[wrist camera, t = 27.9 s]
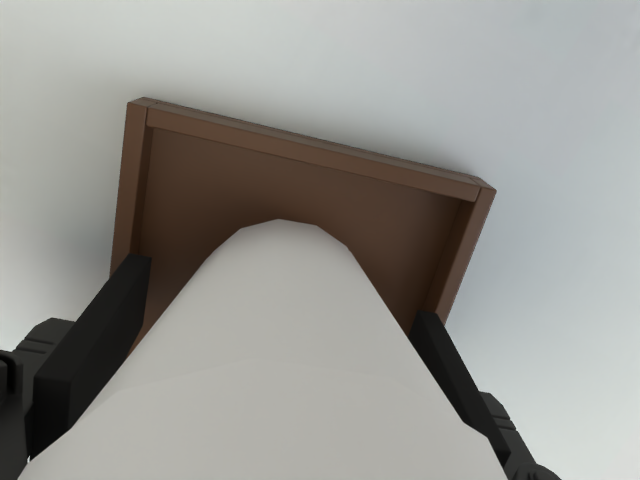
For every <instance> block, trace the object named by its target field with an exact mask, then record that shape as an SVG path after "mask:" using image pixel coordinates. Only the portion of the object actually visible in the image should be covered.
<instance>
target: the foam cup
mask: <svg viewBox="0 0 640 480" xmlns="http://www.w3.org/2000/svg"><path fill="white" fill-rule="evenodd" d="M17 480H508V479H507V477H506V475H505V473H504V471H503V469H502V467H501V465H500V463H499V461H498V459H497V457H496V455H495V453H494V451H493V449H492V446H491V444H490V442H489V440H488V438H487V437H485V436H484V435H482V434H481V433H479V432H477V431H476V430H474V429H473V428H471V427H469V426H468V425H466V424H465V423H463V422H462V420H461V419H460V417H459V416H458V414H457V412H456V411H455V409H454V408H453V406H452V405H451V403H450V402H449V400H448V399H447V397H446V396H445V394H444V393H443V391H442V390H441V388H440V387H439V385H438V384H437V382H436V381H435V379H434V378H433V376H432V375H431V373H430V371H429V370H428V368H427V367H426V365H425V364H424V362H423V361H422V359H421V358H420V356H419V355H418V353H417V352H416V350H415V349H414V347H413V346H412V344H411V343H410V341H409V340H408V338H407V337H406V335H405V334H404V332H403V330H402V329H401V327H400V326H399V324H398V323H397V321H396V320H395V318H394V317H393V315H392V314H391V312H390V311H389V309H388V308H387V306H386V305H385V303H384V302H383V300H382V299H381V297H380V296H379V294H378V293H377V291H376V289H375V288H374V286H373V285H372V283H371V282H370V280H369V279H368V277H367V276H366V274H365V273H364V271H363V270H362V268H361V267H360V265H359V264H358V262H357V261H356V259H355V258H354V256H353V255H352V253H351V252H350V251H349V250H348V248H347V246H345V245H344V244H342V243H341V242H339V241H338V240H337V239H335V238H334V237H332V236H331V235H329V234H328V233H327V232H325V231H324V230H322V229H321V228H319V227H318V226H316V225H311V224H305V223H299V222H293V221H288V220H282V219H276V220H272V221H268V222H264V223H260V224H256V225H252V226H248V227H245V228H241V229H239V230H238V231H237V232H236V233H235V234H233V235H232V236H231V237H230V238H229V239H227V240H226V241H225V242H224V243H223V244H221V245H220V246H219V247H218V248H217V249H216V250H214V251H213V252H212V254H211V255H210V256H209V257H208V258H207V259H206V260H205V261H204V263H203V264H202V265H201V266H200V268H199V269H198V270H197V271H196V273H195V274H194V275H193V276H192V278H191V279H190V280H189V281H188V283H187V284H186V285H185V286H184V288H183V289H182V290H181V291H180V293H179V294H178V295H177V296H176V298H175V299H174V300H173V301H172V303H171V304H170V305H169V307H168V308H167V309H166V310H165V312H164V313H163V314H162V315H161V317H160V318H159V319H158V320H157V322H156V323H155V324H154V325H153V327H152V328H151V329H150V330H149V332H148V333H147V334H146V335H145V337H144V338H143V339H142V340H141V342H140V343H139V344H138V345H137V347H136V348H135V349H134V350H133V352H132V353H131V354H130V355H129V357H128V358H127V359H126V360H125V362H124V363H123V364H122V365H121V367H120V368H119V369H118V371H117V372H116V373H115V374H114V376H113V377H112V378H111V379H110V381H109V382H108V383H107V384H106V386H105V387H104V388H103V389H102V391H101V392H100V393H99V394H98V396H97V397H96V398H95V399H94V401H93V402H92V403H91V404H90V406H89V407H88V408H87V409H86V411H85V412H84V413H83V414H82V416H81V417H80V418H79V419H78V421H77V422H76V423H75V424H74V426H73V427H72V428H71V429H70V430H69V431H68V432H66V433H65V434H64V435H63V436H61V437H60V438H59V439H58V440H56V441H55V442H54V443H53V444H51V445H50V446H49V447H48V448H46V449H45V450H44V451H43V452H41V453H40V454H39V455H38V456H36V457H35V458H34V459H33V460H31V461H30V462H29V463H28V464H27V465H26V466H25V468H24V470H23V471H22V473H21V474H20V476H19V478H18V479H17Z"/></svg>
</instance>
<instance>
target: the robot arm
mask: <svg viewBox="0 0 640 480" xmlns="http://www.w3.org/2000/svg"><path fill="white" fill-rule="evenodd" d="M151 262H152V257H147V256H142V255H137V254H132V253H129V254H128V255H127V256H126V258H125V259H124V260H123V261H122V263H121V264H120V265H119V267H118V268H117V269H116V270H115V272H114V273H113V274H112V276H111V277H110V278H109V279H108V281H107V282H106V283H105V285H104V286H103V287H102V288H101V290H100V291H99V292H98V294H97V295H96V296H95V298H94V299H93V300H92V301H91V303H90V304H89V305H88V307H87V308H86V309H85V310H84V312H83V313H82V314H81V316H80V317H79V318H78V319H77V321H76V322H74V321H68V320H62V319H57V318H50V319H48V320H46V321H44V322H42V323H40V324H38V325H36V326H35V327H34V328H33V329H32V330H31V331H30V332H29V333H28V334H27V336H26V337H25V339H24V340H22V341H21V342H20V343H19V344H18V346H17V347H16V349H14V350H13V351H12V352H8V351H4V350H0V480H17V479H18V478H19V476H20V474H21V473H22V471H23V470H24V468H25V466H26V465H27V464H28V463H27V459H28V457H29V456H30V461H31V460H33V459H34V458H35V457H36V456H38V455H39V454H40V453H41V452H43V451H44V450H45V449H46V448H48V447H49V446H50V445H51V444H53V443H54V442H55V441H56V440H58V439H59V438H60V437H61V436H63V435H64V434H65V433H66V432H68V431H69V430H70V429H71V428H72V427H73V426H74V424H75V423H76V422H77V421H78V419H79V418H80V417H81V416H82V414H83V413H84V412H85V411H86V409H87V408H88V407H89V406H90V404H91V403H92V402H93V401H94V399H95V398H96V397H97V396H98V394H99V393H100V392H101V391H102V389H103V388H104V387H105V386H106V384H107V383H108V382H109V381H110V379H111V378H112V377H113V376H114V374H115V373H116V372H117V371H118V369H119V368H120V367H121V365H122V364H123V363H124V361H125V359H126V357H127V355H128V353H129V351H130V349H131V347H132V345H133V344H134V342H135V340H136V338H137V336H138V334H139V332H140V330H141V328H142V326H143V321H144V313H145V306H146V299H147V291H148V284H149V276H150V269H151ZM408 340H409V341H410V343H411V344H412V346H413V347H414V349H415V350H416V352H417V353H418V355H419V356H420V358H421V359H422V361H423V362H424V364H425V365H426V367H427V368H428V370H429V371H430V373H431V375H432V376H433V378H434V379H435V381H436V382H437V384H438V385H439V387H440V388H441V390H442V391H443V393H444V394H445V396H446V397H447V399H448V400H449V402H450V403H451V405H452V406H453V408H454V409H455V411H456V412H457V414H458V416H459V417H460V419H461V420H462V422H463V423H465V424H466V425H468V426H469V427H471V428H473V429H474V430H476V431H477V432H479V433H481V434H482V435H484V436H485V437H487V438H488V440H489V442H490V444H491V446H492V449H493V451H494V453H495V455H496V457H497V459H498V461H499V463H500V465H501V467H502V469H503V471H504V473H505V475H506V477H507V479H508V480H561V479H560V478H559V477H558V476H557V475H556V474H555V473H554V472H552V471H550V470H549V469H547V468H545V467H544V466H541V465H538V464H536V462H535V460H534V458H533V457H532V455H531V453H530V452H529V450H528V448H527V446H526V445H525V443H524V441H523V440H522V438H521V436H520V434H519V433H518V431H516V427H515V426H514V424H513V422H512V421H510V417H509V415H508V414H507V412H506V410H505V409H504V407H503V405H502V404H501V403H500V402H499V401H498V400H497V399H496V398H495V397H494V396H492V395H491V394H490V393H486V392H480V391H479V390H478V389H477V387H476V385H475V383H474V381H473V379H472V377H471V375H470V374H469V372H468V370H467V368H466V366H465V364H464V362H463V361H462V359H461V357H460V355H459V353H458V351H457V349H456V347H455V346H454V344H453V342H452V340H451V338H450V336H449V334H448V333H447V331H446V329H445V327H444V325H443V323H442V321H441V320H440V318H439V316H438V314H437V313H432V312H427V311H422V310H417V313H416V316H415V318H414V321H413V324H412V327H411V329H410V332H409V335H408Z"/></svg>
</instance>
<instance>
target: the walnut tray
mask: <svg viewBox="0 0 640 480" xmlns="http://www.w3.org/2000/svg"><path fill="white" fill-rule="evenodd" d="M495 194H496V190H495V189H494V188H493V187H491V186H490V185H489V184H487V183H486V182H484V181H483V180H482V179H481V178H479V177H475V176H471V175H466V174H462V173H458V172H454V171H450V170H446V169H441V168H437V167H433V166H429V165H425V164H421V163H417V162H412V161H408V160H404V159H400V158H396V157H392V156H387V155H383V154H379V153H375V152H371V151H367V150H362V149H358V148H354V147H350V146H346V145H342V144H337V143H333V142H329V141H325V140H321V139H317V138H313V137H308V136H304V135H300V134H296V133H292V132H288V131H283V130H279V129H275V128H271V127H267V126H263V125H258V124H254V123H250V122H246V121H242V120H238V119H233V118H229V117H225V116H221V115H217V114H213V113H209V112H204V111H200V110H196V109H192V108H188V107H184V106H179V105H175V104H171V103H167V102H163V101H159V100H154V99H150V98H146V97H142V98H139V99H136V100H133V101H131V102H128V103H127V111H126V121H125V131H124V140H123V150H122V160H121V169H120V179H119V188H118V198H117V208H116V217H115V227H114V237H113V246H112V256H111V266H110V275H109V278H110V277H111V276H112V274H113V273H114V272H115V270H116V269H117V268H118V267H119V265H120V264H121V263H122V261H123V260H124V259H125V258H126V256H127V255H128V254H129V253H132V254H137V255H142V256H147V257H152V262H151V269H150V276H149V284H148V291H147V299H146V306H145V313H144V321H143V326H142V328H141V330H140V332H139V334H138V336H137V338H136V340H135V342H134V344H133V345H132V347H131V349H130V351H129V353H128V355H127V357H126V359H127V358H128V357H129V355H130V354H131V353H132V352H133V350H134V349H135V348H136V347H137V345H138V344H139V343H140V342H141V340H142V339H143V338H144V337H145V335H146V334H147V333H148V332H149V330H150V329H151V328H152V327H153V325H154V324H155V323H156V322H157V320H158V319H159V318H160V317H161V315H162V314H163V313H164V312H165V310H166V309H167V308H168V307H169V305H170V304H171V303H172V301H173V300H174V299H175V298H176V296H177V295H178V294H179V293H180V291H181V290H182V289H183V288H184V286H185V285H186V284H187V283H188V281H189V280H190V279H191V278H192V276H193V275H194V274H195V273H196V271H197V270H198V269H199V268H200V266H201V265H202V264H203V263H204V261H205V260H206V259H207V258H208V257H209V256H210V255H211V254H212V252H213V251H214V250H216V249H217V248H218V247H219V246H220V245H221V244H223V243H224V242H225V241H226V240H227V239H229V238H230V237H231V236H232V235H233V234H235V233H236V232H237V231H238V230H239V229H241V228H245V227H248V226H252V225H256V224H260V223H264V222H268V221H272V220H276V219H282V220H288V221H293V222H299V223H305V224H311V225H316V226H318V227H319V228H321V229H322V230H324V231H325V232H327V233H328V234H329V235H331V236H332V237H334V238H335V239H337V240H338V241H339V242H341V243H342V244H344V245H345V246H347V248H348V250H349V251H350V252H351V253H352V255H353V256H354V258H355V259H356V261H357V262H358V264H359V265H360V267H361V268H362V270H363V271H364V273H365V274H366V276H367V277H368V279H369V280H370V282H371V283H372V285H373V286H374V288H375V289H376V291H377V293H378V294H379V296H380V297H381V299H382V300H383V302H384V303H385V305H386V306H387V308H388V309H389V311H390V312H391V314H392V315H393V317H394V318H395V320H396V321H397V323H398V324H399V326H400V327H401V329H402V330H403V332H404V334H405V335H406V337H407V338H408V335H409V332H410V329H411V327H412V324H413V321H414V318H415V316H416V313H417V310H422V311H427V312H432V313H437V314H438V316H439V318H440V320H441V321H442V323H443V325H445V323H446V320H447V318H448V315H449V313H450V310H451V307H452V305H453V302H454V300H455V297H456V295H457V292H458V289H459V287H460V284H461V282H462V279H463V277H464V274H465V271H466V269H467V266H468V264H469V261H470V259H471V256H472V254H473V251H474V248H475V246H476V243H477V241H478V238H479V236H480V233H481V230H482V228H483V225H484V223H485V220H486V218H487V215H488V212H489V210H490V207H491V205H492V202H493V200H494V197H495ZM126 359H125V360H126ZM124 362H125V361H124Z"/></svg>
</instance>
